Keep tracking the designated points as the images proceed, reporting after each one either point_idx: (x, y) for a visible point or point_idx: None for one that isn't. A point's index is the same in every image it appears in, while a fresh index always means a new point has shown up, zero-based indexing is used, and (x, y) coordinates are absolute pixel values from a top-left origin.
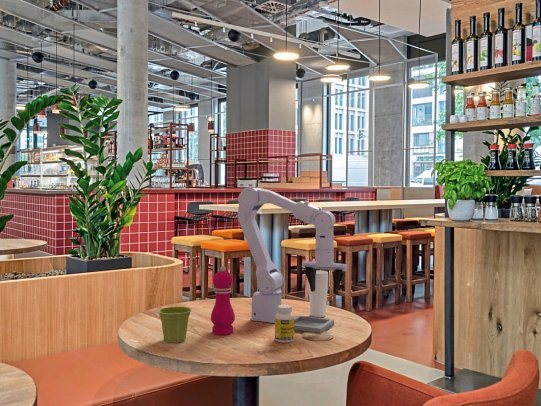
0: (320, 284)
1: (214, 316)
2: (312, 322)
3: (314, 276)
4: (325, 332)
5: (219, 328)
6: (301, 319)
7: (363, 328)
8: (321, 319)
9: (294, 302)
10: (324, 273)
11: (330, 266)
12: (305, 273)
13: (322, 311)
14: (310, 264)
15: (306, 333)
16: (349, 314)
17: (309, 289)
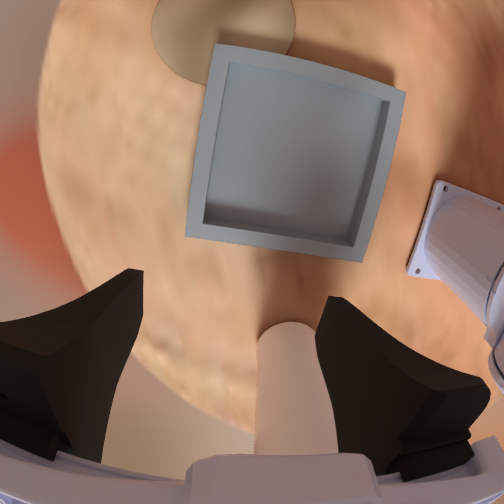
0: (292, 435)
1: None
2: (290, 214)
3: (348, 421)
4: (195, 68)
5: None
6: (346, 241)
7: (68, 218)
8: (248, 229)
9: None
10: None
11: (60, 480)
12: (462, 374)
13: (267, 343)
14: (456, 490)
15: (280, 29)
16: (178, 385)
17: None
